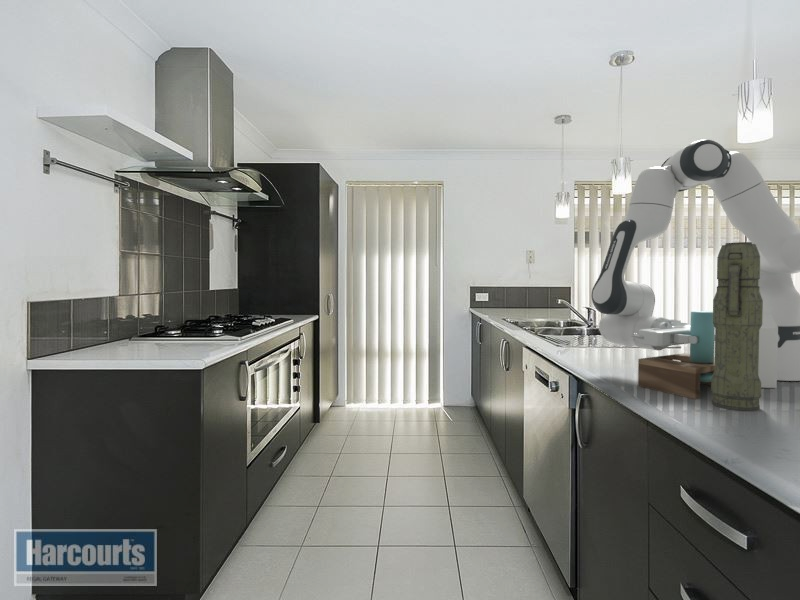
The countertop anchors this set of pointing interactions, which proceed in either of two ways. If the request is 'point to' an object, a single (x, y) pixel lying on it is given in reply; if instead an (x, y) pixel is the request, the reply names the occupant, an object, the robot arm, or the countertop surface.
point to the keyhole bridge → (673, 374)
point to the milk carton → (768, 351)
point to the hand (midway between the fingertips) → (705, 339)
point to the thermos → (737, 328)
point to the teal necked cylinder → (702, 340)
